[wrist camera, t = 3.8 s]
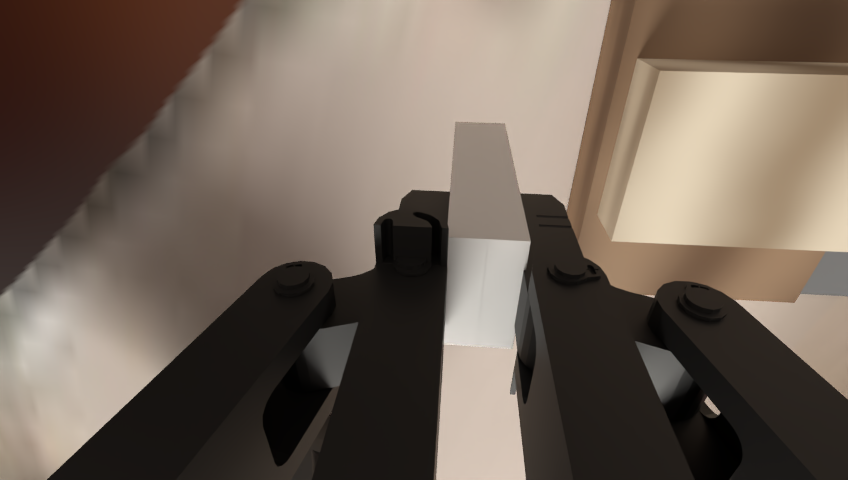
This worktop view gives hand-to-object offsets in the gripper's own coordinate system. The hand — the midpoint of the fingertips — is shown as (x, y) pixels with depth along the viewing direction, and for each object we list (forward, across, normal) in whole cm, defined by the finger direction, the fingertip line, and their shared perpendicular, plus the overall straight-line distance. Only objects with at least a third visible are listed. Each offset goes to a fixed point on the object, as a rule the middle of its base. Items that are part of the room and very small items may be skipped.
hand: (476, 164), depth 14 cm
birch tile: (+3, +10, 0) cm, 10 cm away
